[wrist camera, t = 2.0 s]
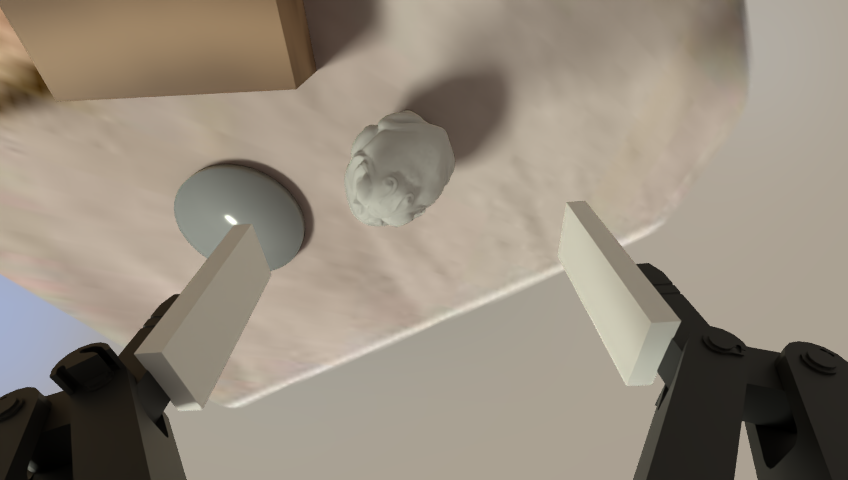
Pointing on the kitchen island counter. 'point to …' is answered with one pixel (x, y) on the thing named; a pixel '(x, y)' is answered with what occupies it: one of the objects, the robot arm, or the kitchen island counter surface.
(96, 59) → the walnut block
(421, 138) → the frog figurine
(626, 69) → the kitchen island counter surface
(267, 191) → the grey oval dome
